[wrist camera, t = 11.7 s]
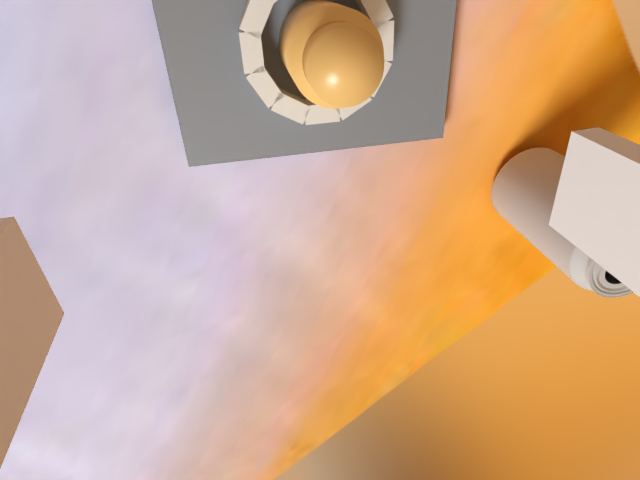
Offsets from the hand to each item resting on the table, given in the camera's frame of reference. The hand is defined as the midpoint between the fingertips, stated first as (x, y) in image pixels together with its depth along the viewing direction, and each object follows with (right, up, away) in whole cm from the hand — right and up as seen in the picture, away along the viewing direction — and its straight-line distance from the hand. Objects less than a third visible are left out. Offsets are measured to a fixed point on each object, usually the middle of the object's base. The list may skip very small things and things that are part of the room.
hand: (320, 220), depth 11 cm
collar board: (-1, +12, +17) cm, 21 cm away
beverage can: (+17, +4, +26) cm, 31 cm away
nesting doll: (0, +12, +16) cm, 20 cm away
